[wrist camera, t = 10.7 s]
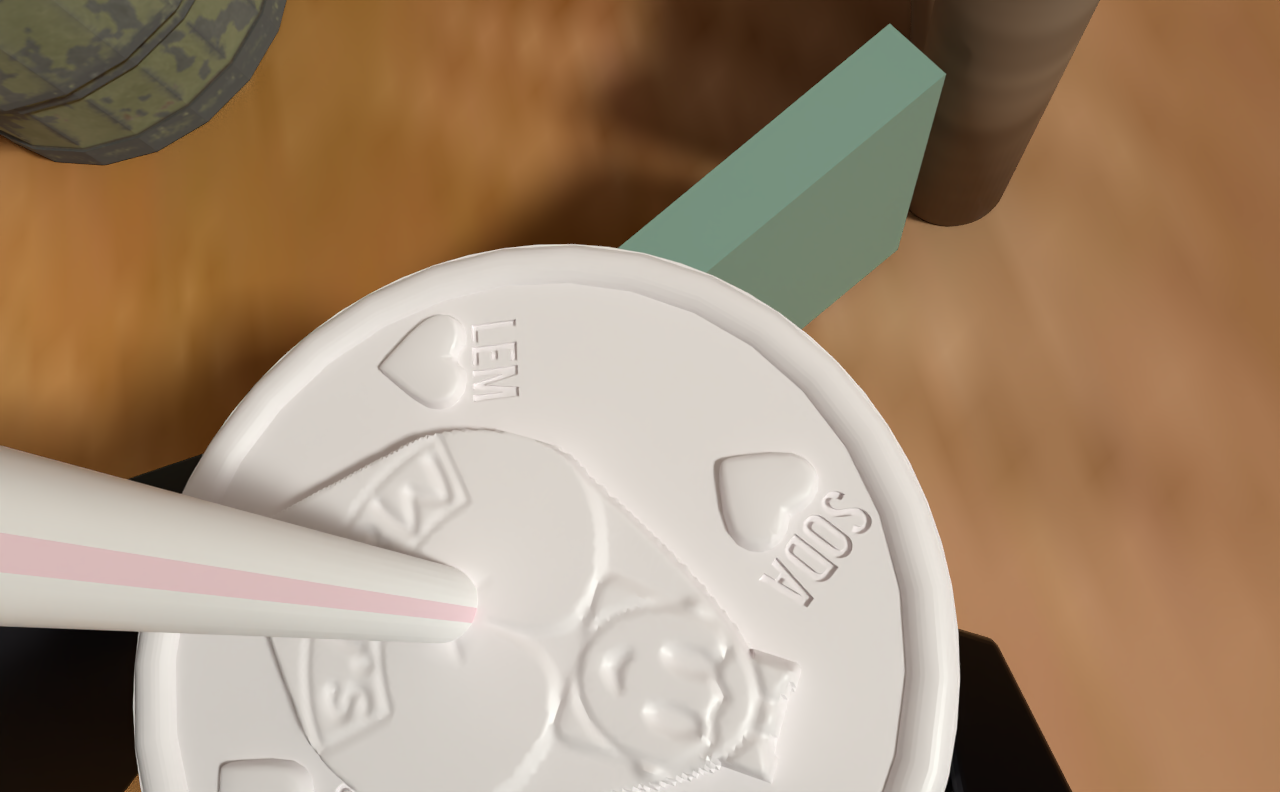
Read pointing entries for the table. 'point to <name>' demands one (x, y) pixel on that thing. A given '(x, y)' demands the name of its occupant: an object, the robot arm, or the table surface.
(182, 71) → the thermos
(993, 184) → the brown block
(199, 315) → the table surface
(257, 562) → the smoothie
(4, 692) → the robot arm
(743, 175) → the green block
